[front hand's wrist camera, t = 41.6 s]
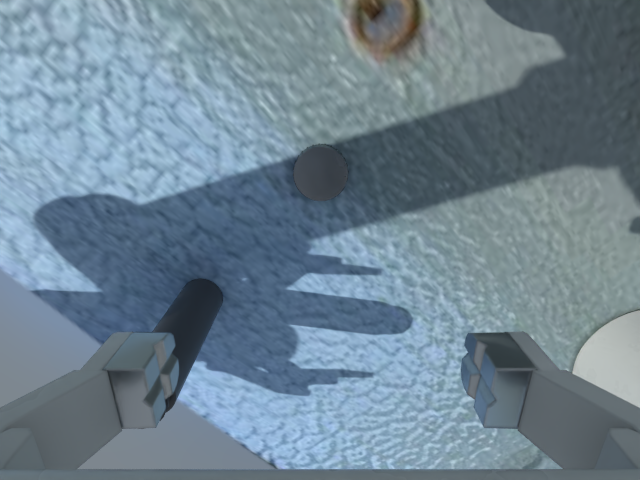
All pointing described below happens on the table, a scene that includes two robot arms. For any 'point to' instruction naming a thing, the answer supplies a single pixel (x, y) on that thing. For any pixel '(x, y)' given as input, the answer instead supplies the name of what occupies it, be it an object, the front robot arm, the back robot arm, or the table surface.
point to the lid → (320, 172)
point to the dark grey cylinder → (190, 326)
